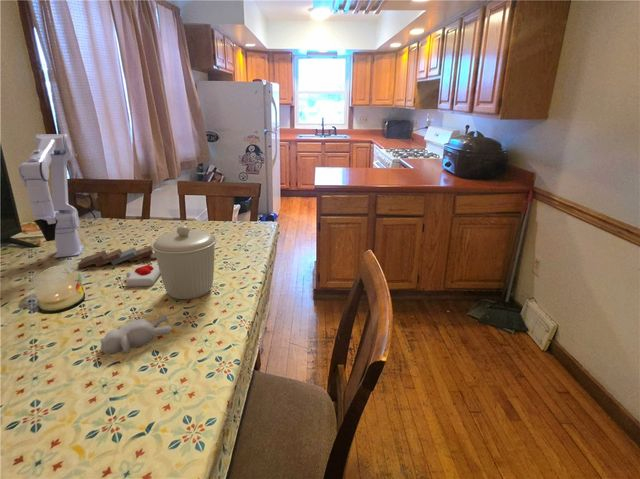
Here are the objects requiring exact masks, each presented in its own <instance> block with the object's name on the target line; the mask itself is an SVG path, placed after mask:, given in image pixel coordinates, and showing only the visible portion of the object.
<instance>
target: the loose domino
mask: <svg viewBox="0 0 640 479" xmlns="http://www.w3.org/2000/svg"><path fill="white" fill-rule="evenodd" d="M137 251H138V250H137V249H136V247H135V246H134V247H132V248H129V249H126V250H124V251H122V254H121V257H120V258H118V259H116V260H113V261H111V262H110V263H111V265H112V266H114V265H117V264H119V263H122V262H124V261H127V260H129V258H132V257H134V256H136V252H137Z"/></svg>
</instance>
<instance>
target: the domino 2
mask: <svg viewBox="0 0 640 479" xmlns="http://www.w3.org/2000/svg"><path fill="white" fill-rule="evenodd" d="M122 252H123V251H122V249H121V248H117V249H116V250H113V251H111V252H108V253H107V255H106V257H105V258H104V260H101V261H99V262H96V263H94V265H95V266H96V267H97V268H98V267H101V266H103V265H106V264H108V263H111V261H113V260H116V259H118V258H120V257H121V254H122Z"/></svg>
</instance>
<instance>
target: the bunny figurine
mask: <svg viewBox="0 0 640 479" xmlns="http://www.w3.org/2000/svg"><path fill="white" fill-rule="evenodd" d="M168 319H169V318H168V316H167V315H166V314H162V315H160V316H159V317H157V318H156V319H154V320H152V321H151V322H149V321H147V320H146V319H144V318H139V319H134V320H132V321H130V322H128V323H127V324H126V325H125V324H121V325H118V328H117V329H112V330H109V331H108V332H107V333H106V334H105V335H104V337H103V338H100V346H101V350H102V352H103V354H106V353H108V354H110V355H115V354H118V353H121V352H122V351H123V353H124V354H128V353H129V352H130V351H131V349H132V348H135V349H137V348H142V347H145V346H146V345H148V344H150V343H151V342H152V339H153V337H154V336H165V335H167V336H168V335H170V334H171V333H172V331H173V330H172V326H171V325H162V326H158V325H160V324H162V323H165V322H166V321H168Z"/></svg>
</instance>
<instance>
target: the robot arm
mask: <svg viewBox="0 0 640 479" xmlns="http://www.w3.org/2000/svg"><path fill="white" fill-rule="evenodd" d="M34 144H35V148H36V149H34V150H33V151H31V153H30V155H29V156H28V158H27V160H26V162H22V163H21V164H19V165H18V174H19V177H20V179H21V181H22V182H23V184H22V185H23V186H24V188H26V191H27V195H28V200H29V204H30V207H31V211H32V217H33V219H35V220H34V221H33V222H34V223H35V225H37V227H38V228H39V230H40V231H41V234H42V235H43V237H44V239H45V241H47V242H52V241H54V245H55V248H56V253H55V254H54V256H53V258H64V257H73V256H79V255H81V253H82V251H83V249H84V247H85V245H83V244H81V240H80V236H79V232H78V230H77V229H78V228H79V227H80V218H79V211H78V210H77V208H76V207H75V206H73V205H71V204H69V188H68V170H67V169H68V167H67V166H68V161H70V160H71V159H72V157H73V156H72V155H73V152H72V150H73V149H72V142H71V138H70V136H69V135H68V134H67V133H56V134H55V133H54V134H53V133H51V134H45V133H44V134H41V133H37V134H36V135H35V137H34ZM50 166H51V173H50V169H49V167H50ZM50 174H51V189H50V186H49V183H48V182H49V181H48V180H49V178H50ZM51 194H52V196H51Z"/></svg>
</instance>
